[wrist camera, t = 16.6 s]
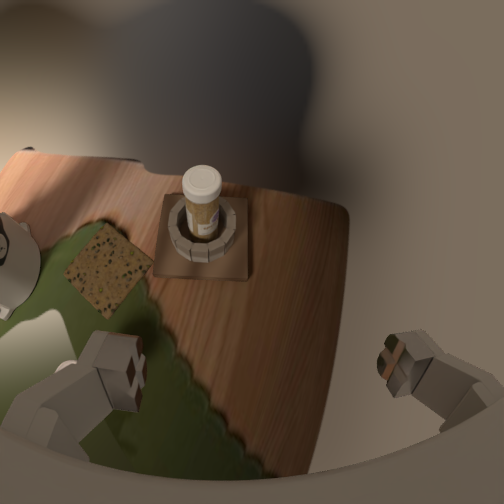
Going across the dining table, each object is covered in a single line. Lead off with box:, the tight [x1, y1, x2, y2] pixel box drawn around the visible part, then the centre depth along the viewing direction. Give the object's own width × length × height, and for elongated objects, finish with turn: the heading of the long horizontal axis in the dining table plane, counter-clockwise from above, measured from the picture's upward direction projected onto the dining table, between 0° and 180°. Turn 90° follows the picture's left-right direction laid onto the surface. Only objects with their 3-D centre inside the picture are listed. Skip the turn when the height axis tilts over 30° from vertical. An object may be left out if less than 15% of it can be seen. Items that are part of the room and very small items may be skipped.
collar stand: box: [153, 194, 248, 282], centre depth 41 cm, size 14×14×6 cm
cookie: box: [64, 223, 154, 319], centre depth 39 cm, size 12×12×1 cm
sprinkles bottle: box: [182, 165, 222, 244], centre depth 36 cm, size 5×5×14 cm
